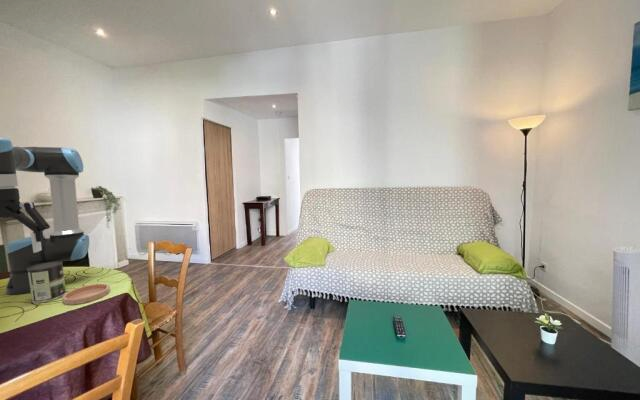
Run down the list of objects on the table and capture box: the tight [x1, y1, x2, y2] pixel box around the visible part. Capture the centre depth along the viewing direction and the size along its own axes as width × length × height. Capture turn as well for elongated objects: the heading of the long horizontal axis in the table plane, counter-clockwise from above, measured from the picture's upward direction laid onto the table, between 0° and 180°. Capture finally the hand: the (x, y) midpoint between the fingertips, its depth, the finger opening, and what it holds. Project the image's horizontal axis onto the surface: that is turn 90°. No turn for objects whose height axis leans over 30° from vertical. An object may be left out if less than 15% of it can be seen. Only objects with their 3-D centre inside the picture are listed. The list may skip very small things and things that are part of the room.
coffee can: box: [27, 261, 67, 304], centre depth 108 cm, size 10×10×14 cm
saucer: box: [61, 283, 111, 306], centre depth 109 cm, size 15×15×2 cm
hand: (9, 253), depth 82 cm, fingers open, 13 cm apart
